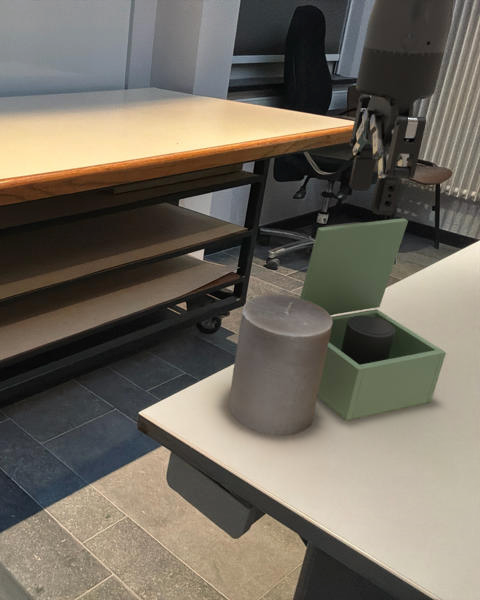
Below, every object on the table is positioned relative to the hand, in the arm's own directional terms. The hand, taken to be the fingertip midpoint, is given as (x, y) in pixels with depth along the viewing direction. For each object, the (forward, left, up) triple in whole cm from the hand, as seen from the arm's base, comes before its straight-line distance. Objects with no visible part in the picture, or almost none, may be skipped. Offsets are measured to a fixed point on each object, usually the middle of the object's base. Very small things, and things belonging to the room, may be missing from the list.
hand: (369, 200), depth 75 cm
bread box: (-3, +1, -25) cm, 25 cm away
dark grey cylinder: (-3, +1, -24) cm, 24 cm away
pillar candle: (+11, +3, -25) cm, 27 cm away
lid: (-3, -3, -10) cm, 11 cm away
